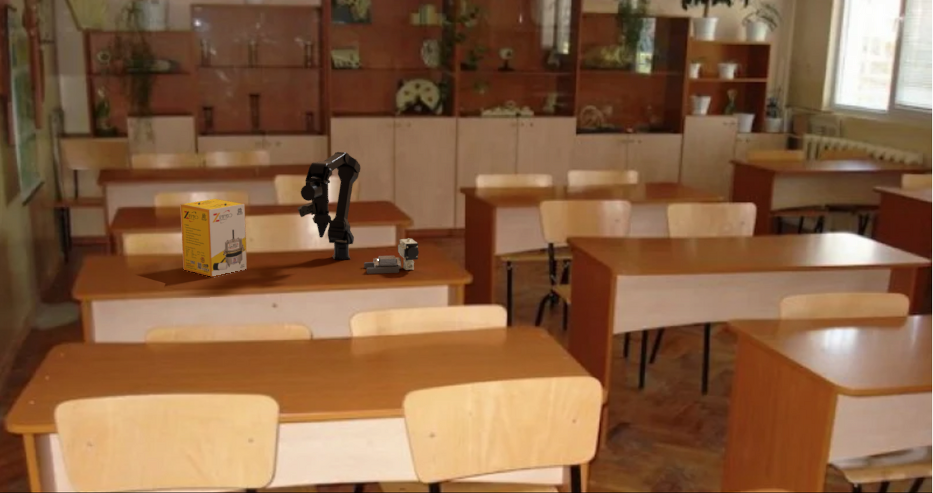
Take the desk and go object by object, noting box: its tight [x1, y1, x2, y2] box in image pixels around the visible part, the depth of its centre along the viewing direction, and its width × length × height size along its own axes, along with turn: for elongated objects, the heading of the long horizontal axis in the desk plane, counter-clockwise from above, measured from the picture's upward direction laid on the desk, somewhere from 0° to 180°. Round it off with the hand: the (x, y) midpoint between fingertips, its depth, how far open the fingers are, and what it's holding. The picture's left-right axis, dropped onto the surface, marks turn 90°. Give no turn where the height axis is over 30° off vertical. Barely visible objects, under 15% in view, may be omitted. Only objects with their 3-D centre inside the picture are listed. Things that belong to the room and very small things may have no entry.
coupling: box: [372, 255, 402, 270], centre depth 340 cm, size 5×10×5 cm, turn 104°
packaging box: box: [179, 198, 248, 276], centre depth 331 cm, size 16×16×25 cm
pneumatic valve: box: [397, 237, 420, 271], centre depth 341 cm, size 6×12×12 cm, turn 20°
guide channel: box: [363, 261, 400, 275], centre depth 339 cm, size 9×12×2 cm
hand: (321, 237), depth 337 cm, fingers closed
